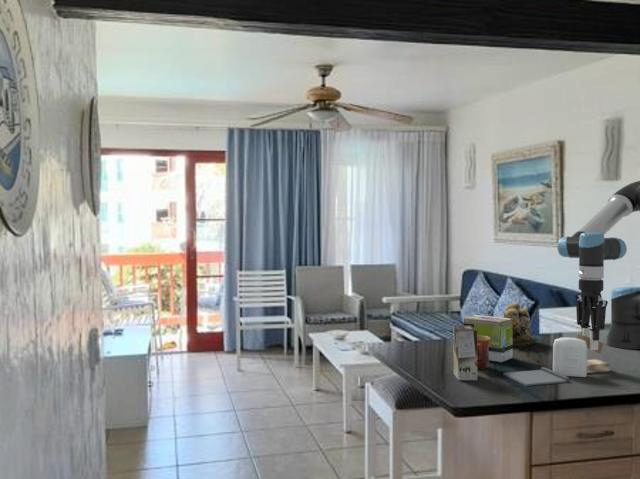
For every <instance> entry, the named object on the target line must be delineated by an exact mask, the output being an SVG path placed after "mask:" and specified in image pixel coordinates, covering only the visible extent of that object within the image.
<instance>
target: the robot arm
mask: <svg viewBox="0 0 640 479" xmlns="http://www.w3.org/2000/svg"><path fill="white" fill-rule="evenodd" d="M634 212H635V213H636V212H640V180H636V181H634V182H631V183H629V184H626V185H625V186H623V187H621V188H620V189H618V190H617V191H615V193H612V195H611V196H609V197H608V199H607V202H606V204H605V205H604V206H603V207H601V209H599V211H598V212H596V214H594V215H593V216H592V217H591V218H590V219H589V220H588V221H587V222H586V223H584V224H583V225H582V226H581V227H579V229H578V230H577V231H576V232H575V233H574V234H573V235H571V236H569V235H568V236H562V237H561V238H559V239H558V242H557V245H556V246H557V247H556V248H557V251H558V254H559V255H560V256H561V257H564V258H570V259H579V260H578V277H579V278H580V279H578V290H579V291H580V294H579V295H575V296H574V300H575V304H576V305H575V308H576V324H577V325H578V326H580V328H581V335H583V336H586V337H588V338H590V351H592V350H598V341H599V340H600V331H602V330H605V327H606V315H607V314H606V312H607V306H608V304H609V302H608V300H604V299H603V298H602V291H604V280H603V279H604V277H605V276H604V274H605V265H604V263H605V261H611V260H612V261H616V260H620V259H622V258H623V257H624V256H625V255H626V253H627V251H628V250H627V249H628V248H627V244H626V242H625V241H624V240H623V239H622V238H618V237H605V235H606V234H607V233H608V232H609V231H611V229H612V228H613V227H615V225H617V224H618V222H620V221H621V220H622V219H623V218H624V217H628V216H630V215H631V214H632V213H634ZM610 305H611V306H610V307H611V308H610V311H611V313H610V315H611V316H610V318H611V320H610V321H611V322H610V328H609V329H608V330H609V331H608V334H607V336H606V340H605V344H607V345H608V346H610V347H615V348H618V349H625V350H626V349H627V350H628V349H629V350H640V286H625V287H616V288H614V289H613V290H612V291H611V297H610ZM590 323H591V324H590Z"/></svg>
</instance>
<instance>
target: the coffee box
mask: <svg viewBox="0 0 640 479" xmlns="http://www.w3.org/2000/svg"><path fill="white" fill-rule="evenodd" d="M452 343H453V344H452V347H453V348H452V349H453V350H452V354H453V361H452V364H453V368H452V369H453V370H452V371H453V375H454V376H455V378H456V379H457V380H458V381H478V369H477V330H476V329H475V328H473V327H472V326H470V325H464V324H463V325H452Z"/></svg>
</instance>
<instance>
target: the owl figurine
mask: <svg viewBox="0 0 640 479" xmlns="http://www.w3.org/2000/svg"><path fill="white" fill-rule="evenodd" d="M502 314H503V315H502V316H503V317H502V318H512V330H513V348H514V349H524V348H531V347H532V346H535V343H536V342H535V339H533V338H532V335H531V334H532V333H531V332H532V328H531V318H530V314H529V312H528V309H527V308H521V304H519V302H511V303H508V305H507V306H506V309H505V311H504V312H503V313H502Z"/></svg>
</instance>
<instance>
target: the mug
mask: <svg viewBox="0 0 640 479" xmlns="http://www.w3.org/2000/svg"><path fill="white" fill-rule="evenodd" d="M490 341H491V338H490V337H488V336H482V335H477V370H485V369H487V368H489V363H490V360H489V344H490Z"/></svg>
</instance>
